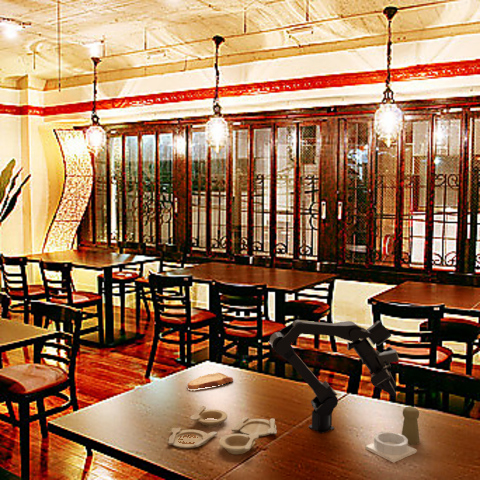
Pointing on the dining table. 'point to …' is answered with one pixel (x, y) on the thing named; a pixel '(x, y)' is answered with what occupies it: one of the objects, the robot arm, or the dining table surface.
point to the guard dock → (389, 457)
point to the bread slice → (209, 381)
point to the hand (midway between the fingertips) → (395, 391)
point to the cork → (411, 425)
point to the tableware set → (229, 442)
